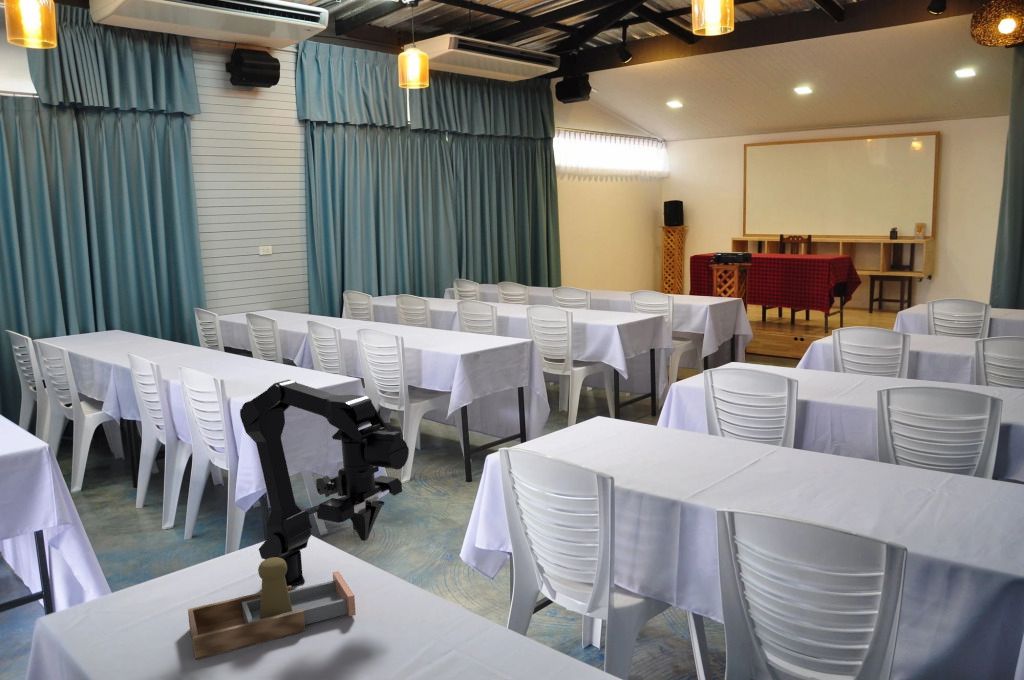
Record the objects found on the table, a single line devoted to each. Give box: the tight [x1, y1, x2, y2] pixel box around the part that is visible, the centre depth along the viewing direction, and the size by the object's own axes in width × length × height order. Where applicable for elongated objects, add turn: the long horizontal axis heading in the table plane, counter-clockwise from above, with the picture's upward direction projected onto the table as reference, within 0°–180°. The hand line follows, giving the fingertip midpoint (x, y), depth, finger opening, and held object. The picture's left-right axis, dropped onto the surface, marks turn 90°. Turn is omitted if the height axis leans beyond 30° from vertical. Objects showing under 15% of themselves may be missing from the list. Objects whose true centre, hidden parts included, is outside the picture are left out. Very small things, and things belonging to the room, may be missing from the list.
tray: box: [242, 570, 357, 625], centre depth 150 cm, size 19×12×4 cm, turn 117°
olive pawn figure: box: [257, 557, 293, 619], centre depth 147 cm, size 6×6×11 cm
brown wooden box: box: [187, 585, 306, 661], centre depth 146 cm, size 19×12×4 cm, turn 117°
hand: (364, 539), depth 152 cm, fingers closed
